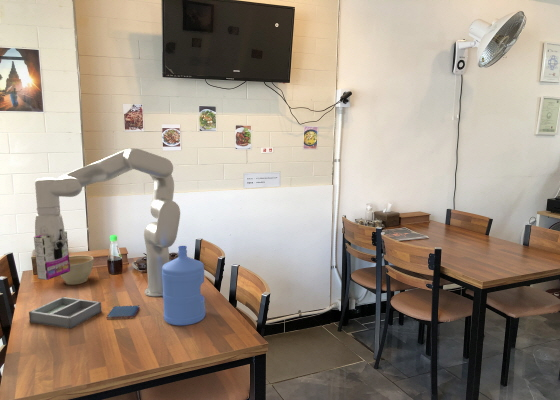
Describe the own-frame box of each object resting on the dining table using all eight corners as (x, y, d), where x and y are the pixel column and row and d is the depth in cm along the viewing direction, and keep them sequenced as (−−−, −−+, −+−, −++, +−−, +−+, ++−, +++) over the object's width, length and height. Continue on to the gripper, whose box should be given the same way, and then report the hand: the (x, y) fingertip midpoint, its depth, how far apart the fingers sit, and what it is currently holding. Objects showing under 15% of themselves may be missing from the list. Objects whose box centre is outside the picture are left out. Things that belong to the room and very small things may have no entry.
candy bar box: (60, 270, 169) (57, 230, 167) (70, 271, 168) (67, 230, 165) (36, 279, 159) (32, 236, 156) (46, 280, 157) (43, 237, 155)
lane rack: (101, 311, 169) (100, 302, 168) (70, 328, 154) (69, 318, 153) (63, 306, 175) (62, 296, 174) (29, 322, 160) (28, 311, 159)
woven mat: (113, 310, 172) (113, 305, 171) (140, 309, 173) (140, 304, 172) (105, 321, 161) (104, 316, 161) (134, 320, 162) (133, 315, 162)
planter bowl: (60, 278, 210) (59, 256, 208) (96, 275, 214) (95, 254, 213) (54, 289, 194) (52, 266, 193) (92, 285, 199) (91, 262, 198)
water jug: (179, 330, 152) (176, 254, 148) (155, 318, 163) (152, 247, 159) (213, 317, 164) (212, 246, 160) (189, 306, 174) (187, 239, 170)
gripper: (22, 211, 159) (26, 258, 161) (59, 214, 153) (62, 262, 156) (39, 208, 166) (43, 253, 168) (74, 210, 161) (78, 257, 163)
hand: (52, 257), depth 162 cm, fingers closed on candy bar box, 5 cm apart
